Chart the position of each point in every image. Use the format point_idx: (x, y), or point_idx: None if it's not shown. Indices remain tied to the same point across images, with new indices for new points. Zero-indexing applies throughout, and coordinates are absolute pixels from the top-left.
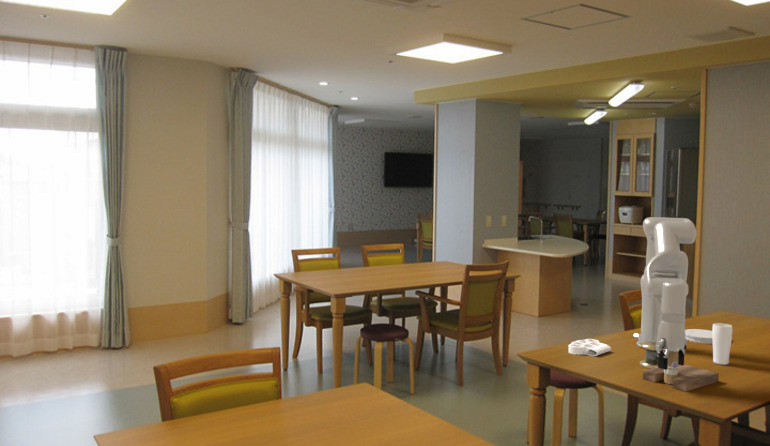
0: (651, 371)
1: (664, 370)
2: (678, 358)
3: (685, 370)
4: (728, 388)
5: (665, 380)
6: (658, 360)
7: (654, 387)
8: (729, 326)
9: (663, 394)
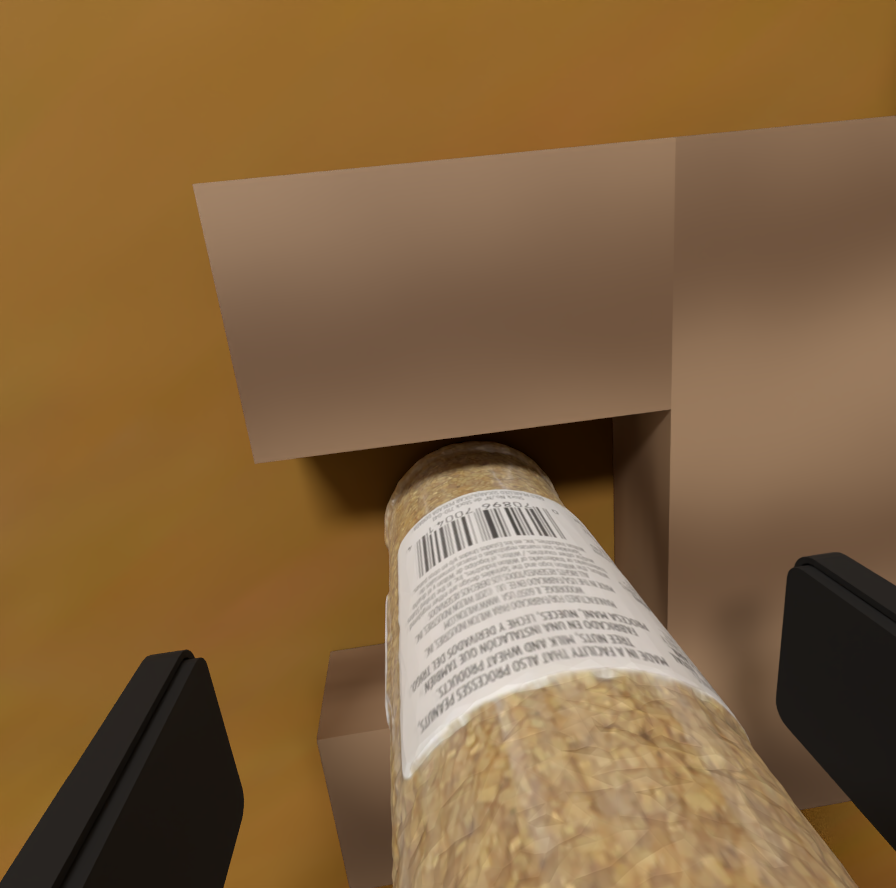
0: (311, 324)
1: (399, 569)
2: (890, 737)
3: (892, 522)
4: (834, 831)
5: (390, 525)
6: (55, 809)
7: (104, 569)
8: None
9: (16, 775)
